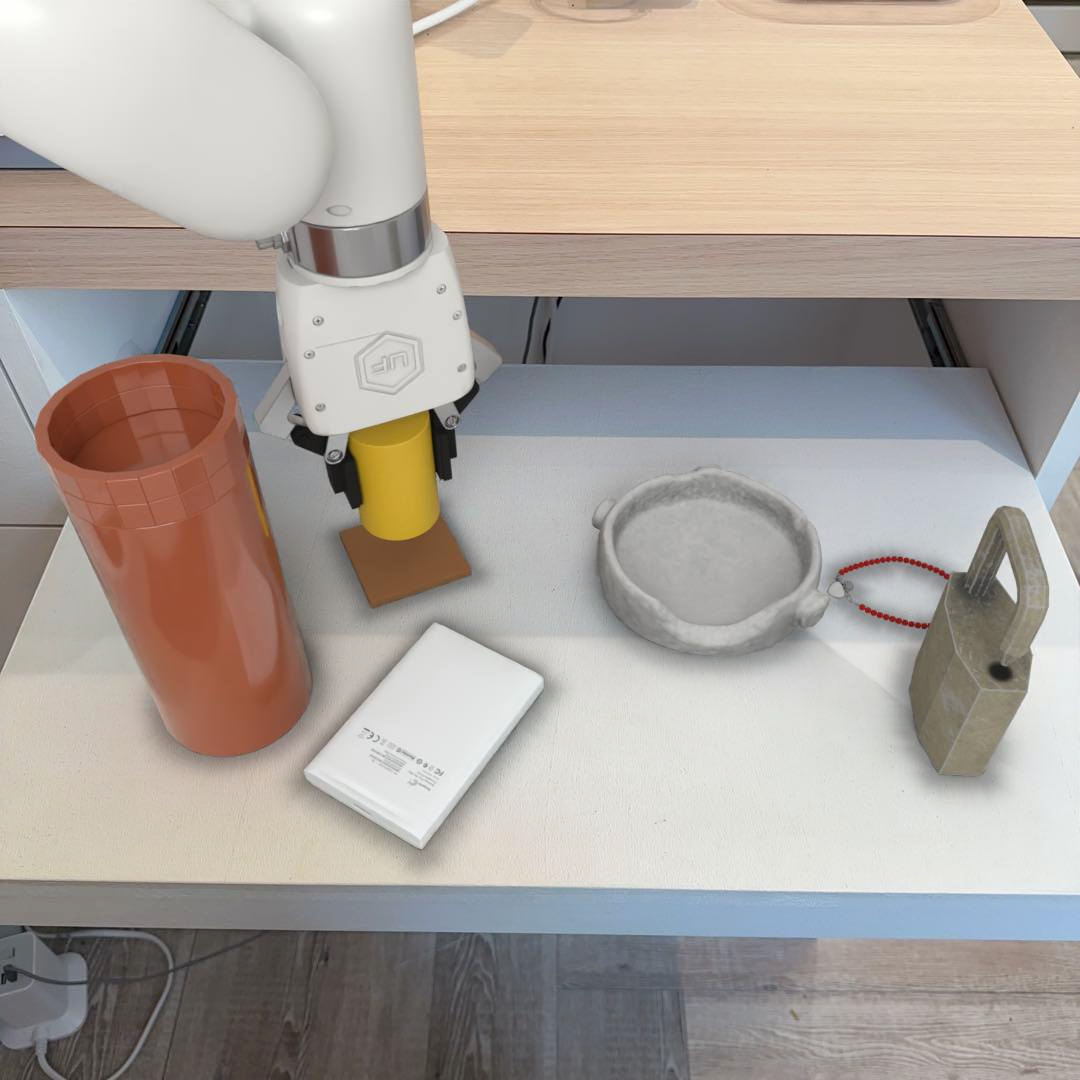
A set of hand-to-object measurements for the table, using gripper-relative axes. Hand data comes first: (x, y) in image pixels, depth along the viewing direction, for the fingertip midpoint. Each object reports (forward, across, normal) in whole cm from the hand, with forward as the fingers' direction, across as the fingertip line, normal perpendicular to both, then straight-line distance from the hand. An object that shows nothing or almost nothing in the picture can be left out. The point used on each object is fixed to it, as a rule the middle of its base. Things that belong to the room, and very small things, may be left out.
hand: (395, 478), depth 68 cm
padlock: (+7, +25, -26) cm, 37 cm away
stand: (+7, -13, -6) cm, 16 cm away
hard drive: (+7, -4, -14) cm, 16 cm away
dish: (+7, +17, -10) cm, 21 cm away
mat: (+7, 0, 0) cm, 7 cm away
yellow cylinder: (+3, 0, 0) cm, 3 cm away
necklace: (+7, +28, -16) cm, 33 cm away
